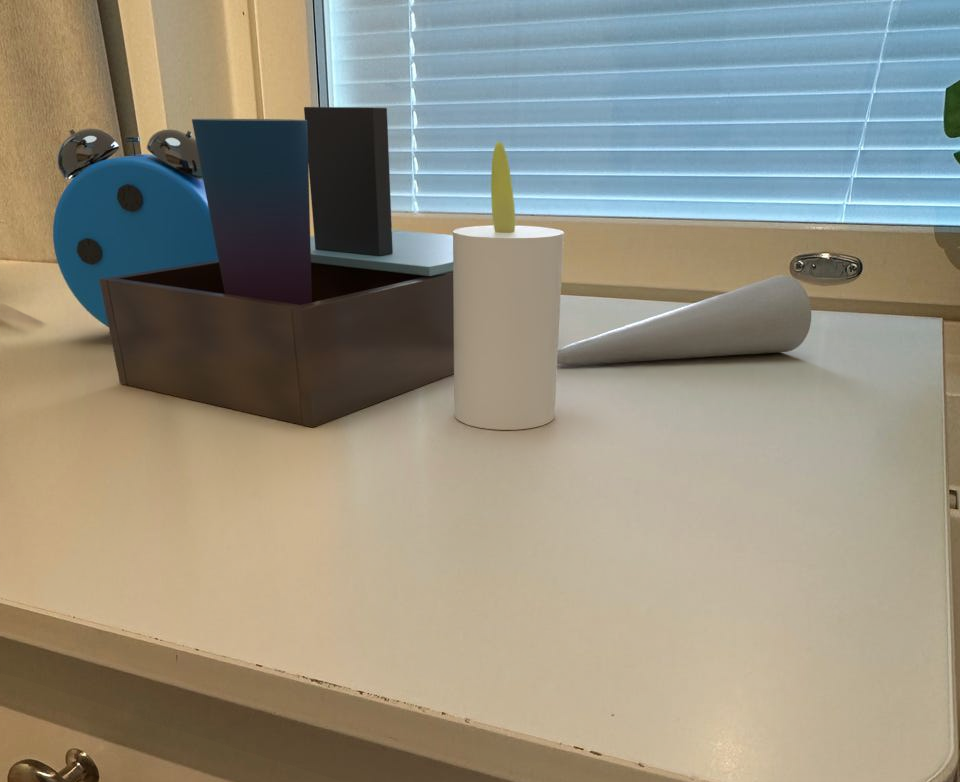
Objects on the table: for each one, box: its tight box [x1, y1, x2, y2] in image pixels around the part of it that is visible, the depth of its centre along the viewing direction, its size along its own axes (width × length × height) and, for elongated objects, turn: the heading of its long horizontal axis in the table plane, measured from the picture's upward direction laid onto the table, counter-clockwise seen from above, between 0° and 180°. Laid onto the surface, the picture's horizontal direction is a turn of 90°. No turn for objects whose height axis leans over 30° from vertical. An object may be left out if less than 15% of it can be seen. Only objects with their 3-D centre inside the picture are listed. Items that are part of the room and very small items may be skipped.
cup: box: [191, 118, 312, 305], centre depth 57 cm, size 7×7×15 cm
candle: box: [452, 140, 565, 431], centre depth 52 cm, size 6×6×15 cm
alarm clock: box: [52, 127, 218, 328], centre depth 70 cm, size 13×6×15 cm, turn 92°
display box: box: [99, 260, 454, 428], centre depth 66 cm, size 18×29×7 cm, turn 148°
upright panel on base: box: [303, 106, 453, 276], centre depth 66 cm, size 17×15×10 cm
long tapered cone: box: [557, 274, 812, 366], centre depth 66 cm, size 6×6×19 cm
